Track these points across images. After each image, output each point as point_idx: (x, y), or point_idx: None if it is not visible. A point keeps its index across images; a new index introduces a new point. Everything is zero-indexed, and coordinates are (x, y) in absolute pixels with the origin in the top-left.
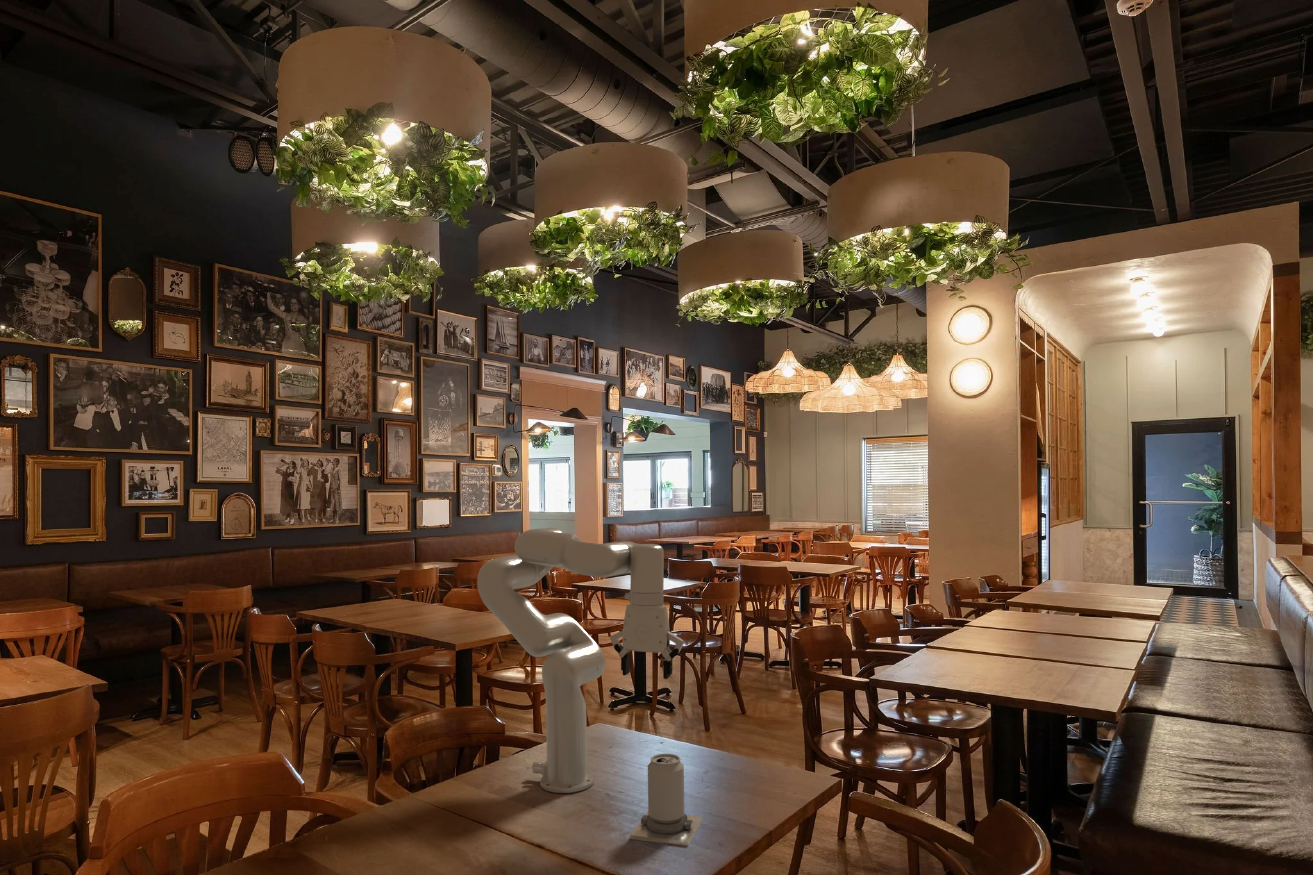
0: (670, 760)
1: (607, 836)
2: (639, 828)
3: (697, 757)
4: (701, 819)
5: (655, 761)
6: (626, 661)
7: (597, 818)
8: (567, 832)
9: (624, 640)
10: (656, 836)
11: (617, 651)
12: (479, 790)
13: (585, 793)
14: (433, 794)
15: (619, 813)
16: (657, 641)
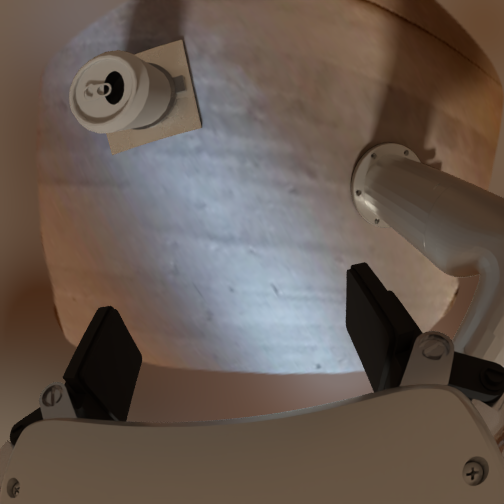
0: (85, 88)
1: (221, 32)
2: (179, 64)
3: (248, 350)
4: (111, 149)
5: (122, 72)
6: (377, 329)
7: (274, 78)
8: (289, 20)
9: (481, 452)
10: (140, 57)
11: (468, 358)
12: (469, 123)
13: (345, 160)
14: (496, 99)
15: (250, 110)
16: (28, 498)
